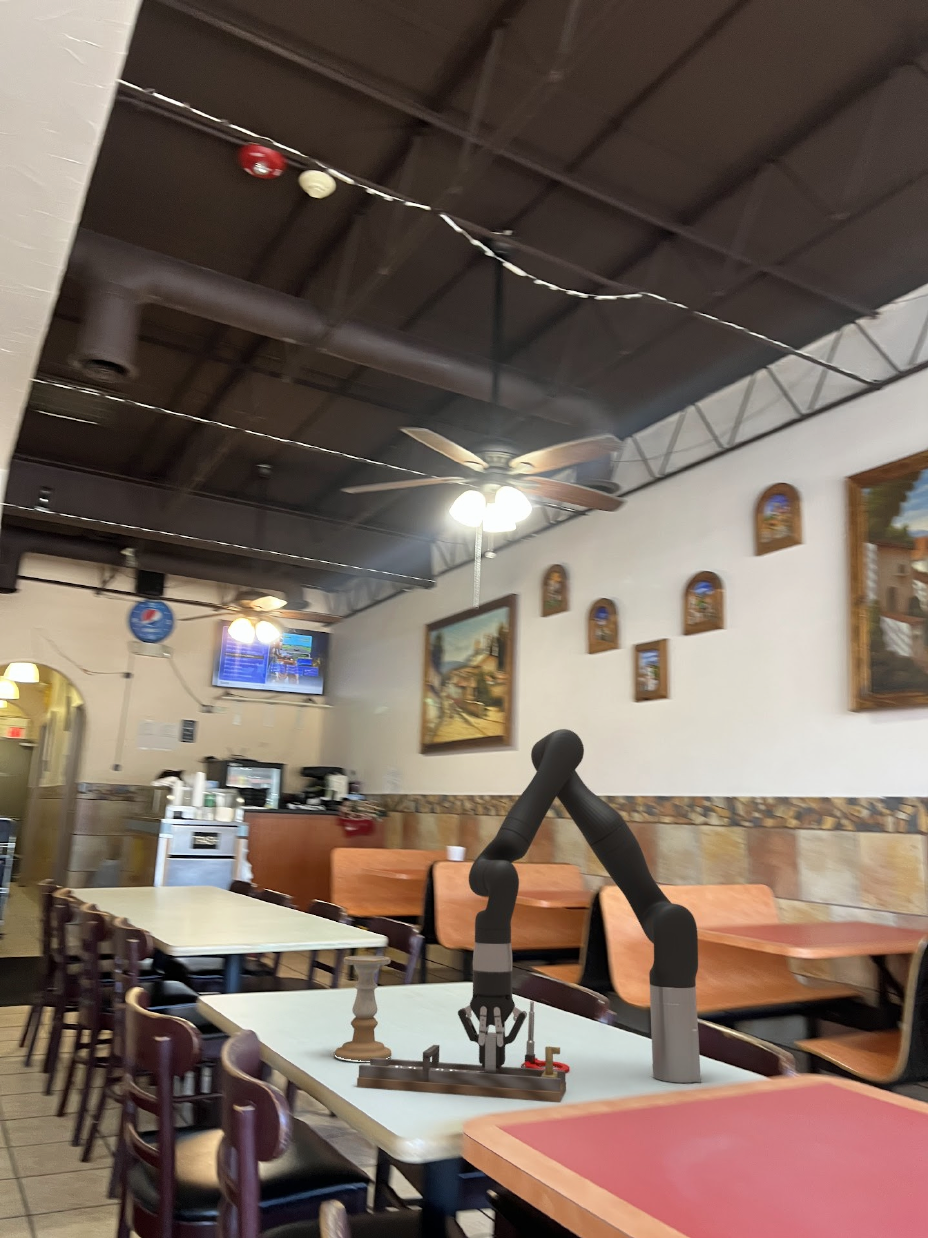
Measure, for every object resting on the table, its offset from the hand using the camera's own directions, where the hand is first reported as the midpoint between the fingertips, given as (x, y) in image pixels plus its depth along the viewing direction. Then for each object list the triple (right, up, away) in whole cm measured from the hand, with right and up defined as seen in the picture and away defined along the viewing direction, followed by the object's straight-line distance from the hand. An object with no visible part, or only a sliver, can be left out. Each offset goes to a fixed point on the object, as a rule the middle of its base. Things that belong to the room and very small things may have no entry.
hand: (491, 1067), depth 166 cm
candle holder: (-27, -11, +26) cm, 39 cm away
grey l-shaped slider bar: (-9, -3, +2) cm, 10 cm away
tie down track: (-6, -4, 0) cm, 7 cm away
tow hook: (+12, -10, +17) cm, 23 cm away
